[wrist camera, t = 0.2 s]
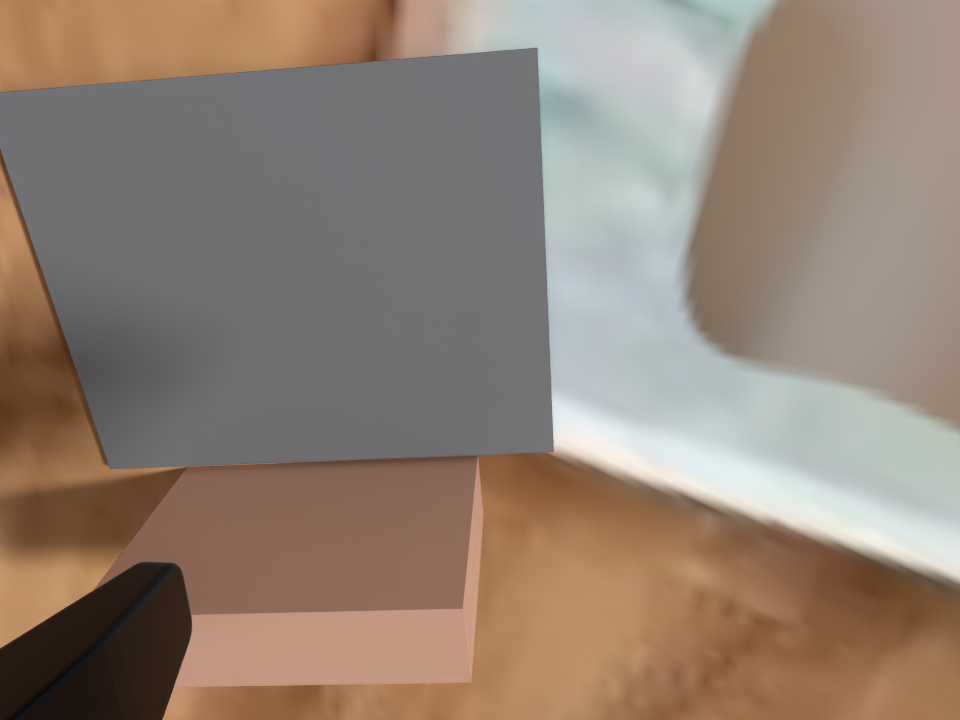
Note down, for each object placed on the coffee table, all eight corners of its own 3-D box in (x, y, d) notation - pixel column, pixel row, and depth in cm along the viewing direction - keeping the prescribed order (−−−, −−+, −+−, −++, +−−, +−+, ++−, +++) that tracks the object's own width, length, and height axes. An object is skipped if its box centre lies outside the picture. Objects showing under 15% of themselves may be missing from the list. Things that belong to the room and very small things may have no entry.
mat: (553, 447, 23) (553, 451, 23) (114, 464, 25) (110, 469, 24) (537, 48, 18) (537, 48, 18) (-11, 93, 20) (-19, 94, 19)
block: (483, 516, 25) (471, 682, 19) (205, 524, 26) (101, 687, 19) (478, 454, 24) (462, 608, 17) (188, 466, 25) (72, 617, 18)
